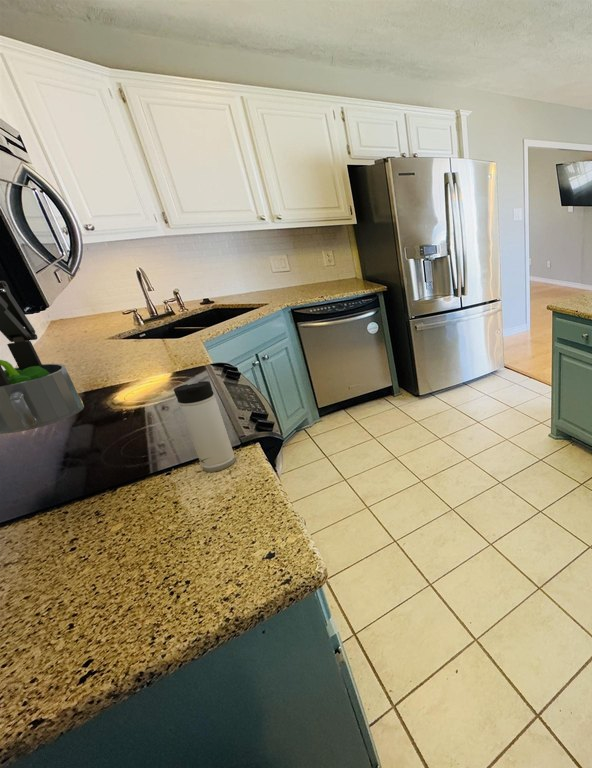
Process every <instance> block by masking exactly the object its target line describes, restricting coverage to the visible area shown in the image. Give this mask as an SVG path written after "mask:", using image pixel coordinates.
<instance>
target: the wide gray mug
mask: <svg viewBox="0 0 592 768" xmlns="http://www.w3.org/2000/svg"><path fill="white" fill-rule="evenodd" d="M41 364H42V363H41ZM42 366H43V368H44V369H45V370H47V371H48V372H49V373H51V374H50V375H47V376H43V377H40V378H37V379H33V380H29V381H25V382H20V383H15V384H10V385H5V386H0V435H5V434H15V433H21V432H24V431H30V430H31V431H32V430H35V429H38V428H43V427H45V426H46V427H47V426H50V425H53V424H55V423H56V424H57V423H58V422H62V421H64V420H66V419H69V418H71V417H73V416H75V415H76V414H78V413H81V411H83V410H84V408H85V405H84V403H83V399H82V398H81V396H80V393H79V391H78V389H77V387H76V385H75V383H74V381H73V379H72V376H71V374H70V372H69V370H68V368H67V366H66V365H65V364H62V363H43V364H42ZM14 369H15V370H20V369H19V367H18V366H17V367H14ZM5 370H6V369H3V371H5Z"/></svg>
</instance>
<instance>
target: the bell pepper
mask: <svg viewBox="0 0 592 768" xmlns="http://www.w3.org/2000/svg"><path fill="white" fill-rule="evenodd" d="M0 365H1V367H2V368H4V370H5V371H4V372H5V374H6V376H7V378H8V380H9V382H10V384H15V383H20V382H25V381H29V380H33V379H37V378H40V377H43V376H47V375H50V374H51V373H49V372H48V371H47V370H45V369H43V368H42V367H40V366H33V367H28V368H25V369H23V370H15V369H14V368H15V367H14V366H13V364H11V363H10V362H9V361H8V360H4V359H0Z"/></svg>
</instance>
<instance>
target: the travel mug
mask: <svg viewBox="0 0 592 768" xmlns="http://www.w3.org/2000/svg"><path fill="white" fill-rule="evenodd" d="M173 393H174V395H175V397H176V400H177V404H178V407H179V409H180V413H181V415H182V417H183V420H184V422H185V425H186V428H187V430H188V434H189V436H190V438H191V441H192V444H193V447H194V449H195V452H196V455H197V458H198V460H199V463H200V466H201V469H202V470H203V471H205V472H207V473H208V472H209V473H212V472H213V473H214V472H219V471H222V470H225V469H227V468H229V467H230V466H232V465H234V463H236V456H235V453H234V450H233V447H232V443H231V441H230V438H229V437H230V436H229V435H228V431H227V429H226V425H225V423H224V419H223V417H222V413H221V410H220V408H219V404H218V400H217V398H216V395H215V392H214V391H213V387H212V384H211V381H209V380H202V381H197V382H196V383H195V382H194V383H190V384H188V383H186V384H183V385H182V384H181V385H179V386H177V387H174V388H173Z"/></svg>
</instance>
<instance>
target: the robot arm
mask: <svg viewBox="0 0 592 768" xmlns="http://www.w3.org/2000/svg"><path fill="white" fill-rule="evenodd" d="M11 292H12V291H11V290H10V287H9V285H8V283H7V281H5V280H0V332H1V334H2V335H3V336H4V337H5V338H6V339H7V340H8V341H9V343H7V344H6V346H7V348H8V350H9V351H10V353H11V355H12V358H13V360H14V361H15V363H16V365H17V368H18V367H19V369H20V370H23V369H25V368H28V367H33V366H40V367H42V368H43V366H42V361H41V359H40V358H39V356H38V355H39V354H38V353H37V351H36V349H35V347H34V344H33V343H32V341H37V340H38V334H37V333H36V330H35V328H34V327H33V325H32V324H31V322H30V320H29V318H28V317H27V315H26V314H25V313H24V311H23V310H22V308H21V307H20V305H19V304H18V302H17V301H16V299H15V297H14V296H13V294H12V293H11ZM43 369H44V368H43ZM3 370H4V369H3V366H2V365H0V386H5V385H10V382H9V380H8V378H7V376H6V374H5V372H4V371H3Z"/></svg>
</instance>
